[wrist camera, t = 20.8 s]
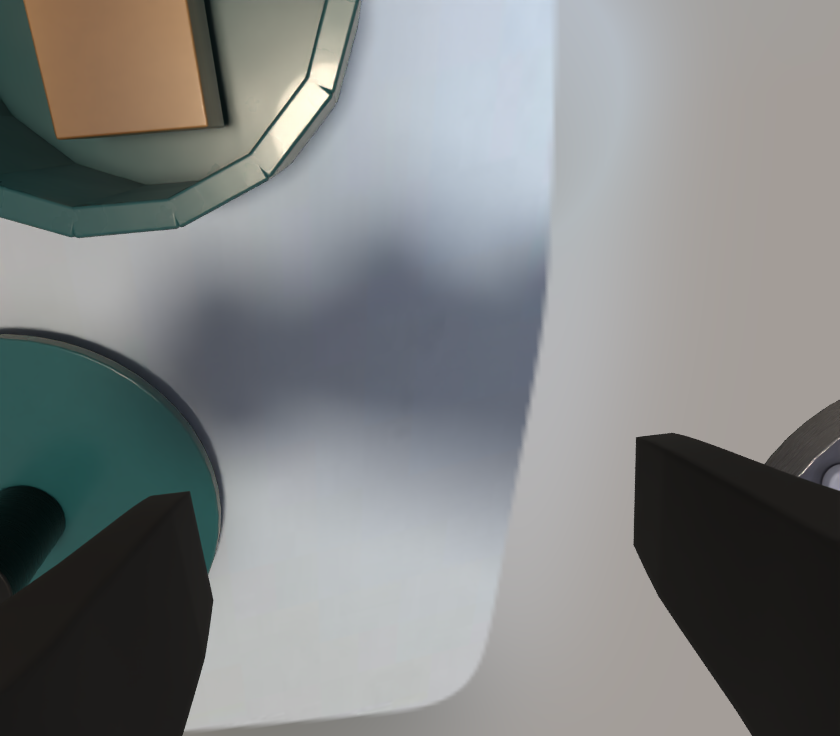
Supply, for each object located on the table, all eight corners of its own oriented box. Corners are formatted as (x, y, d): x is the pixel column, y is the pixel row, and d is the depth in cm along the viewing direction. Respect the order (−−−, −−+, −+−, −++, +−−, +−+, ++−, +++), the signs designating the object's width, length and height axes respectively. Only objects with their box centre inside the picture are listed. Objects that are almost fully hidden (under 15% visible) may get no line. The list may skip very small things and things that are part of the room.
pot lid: (188, 308, 20) (145, 359, 16) (250, 621, 24) (229, 734, 19) (-216, 349, 19) (-381, 415, 15) (-88, 667, 23) (-191, 796, 19)
